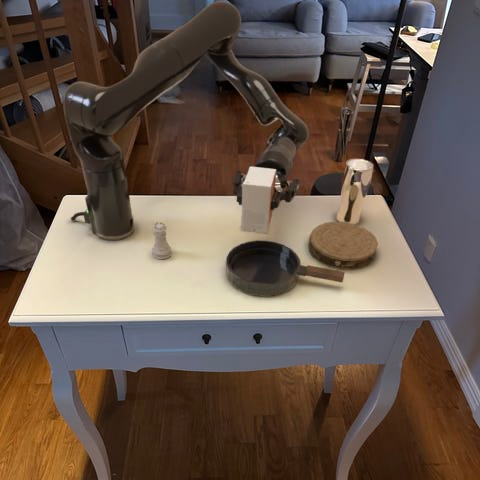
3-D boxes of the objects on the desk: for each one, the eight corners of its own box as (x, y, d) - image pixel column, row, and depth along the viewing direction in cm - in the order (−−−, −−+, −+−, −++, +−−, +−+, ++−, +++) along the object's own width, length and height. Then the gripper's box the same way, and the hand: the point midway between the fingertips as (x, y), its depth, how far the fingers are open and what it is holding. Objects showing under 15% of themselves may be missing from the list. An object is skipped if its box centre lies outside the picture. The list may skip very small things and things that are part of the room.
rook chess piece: (175, 252, 106) (173, 222, 100) (165, 262, 103) (162, 232, 97) (159, 247, 107) (156, 217, 101) (148, 257, 104) (144, 226, 98)
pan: (216, 288, 96) (216, 275, 94) (237, 247, 108) (237, 235, 105) (291, 303, 93) (293, 290, 91) (304, 260, 105) (306, 247, 102)
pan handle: (296, 274, 97) (297, 268, 96) (298, 268, 98) (299, 262, 97) (342, 283, 95) (343, 277, 94) (343, 276, 97) (344, 271, 95)
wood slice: (311, 228, 115) (313, 217, 113) (374, 236, 113) (377, 226, 111) (305, 264, 104) (307, 253, 101) (375, 274, 102) (378, 263, 99)
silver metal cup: (334, 211, 122) (344, 157, 111) (360, 213, 121) (373, 159, 111) (334, 224, 117) (345, 169, 106) (361, 227, 116) (375, 171, 106)
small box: (267, 235, 91) (271, 187, 84) (240, 231, 92) (242, 183, 84) (273, 215, 97) (277, 168, 89) (247, 212, 97) (249, 165, 90)
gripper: (303, 187, 101) (290, 226, 90) (242, 178, 104) (221, 214, 92) (308, 154, 96) (294, 191, 84) (243, 146, 99) (220, 180, 87)
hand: (256, 203), depth 88 cm, fingers closed on small box, 6 cm apart
